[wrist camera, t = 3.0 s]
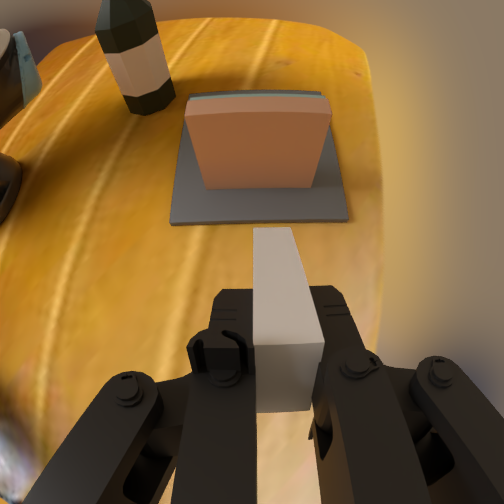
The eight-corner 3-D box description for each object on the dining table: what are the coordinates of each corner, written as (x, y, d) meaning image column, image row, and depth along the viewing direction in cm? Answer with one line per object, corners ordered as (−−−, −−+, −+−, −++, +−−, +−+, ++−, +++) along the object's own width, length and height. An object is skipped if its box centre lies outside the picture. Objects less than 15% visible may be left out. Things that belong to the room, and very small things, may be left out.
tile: (310, 187, 32) (332, 113, 21) (206, 189, 32) (184, 116, 21) (308, 171, 33) (326, 95, 21) (207, 172, 33) (187, 97, 22)
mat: (346, 222, 31) (348, 219, 31) (171, 225, 32) (169, 222, 31) (319, 95, 39) (320, 91, 38) (190, 97, 39) (189, 94, 38)
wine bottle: (121, 118, 38) (52, -39, 10) (137, 86, 41) (87, -55, 12) (170, 113, 38) (117, -69, 9) (181, 81, 40) (146, -76, 12)
